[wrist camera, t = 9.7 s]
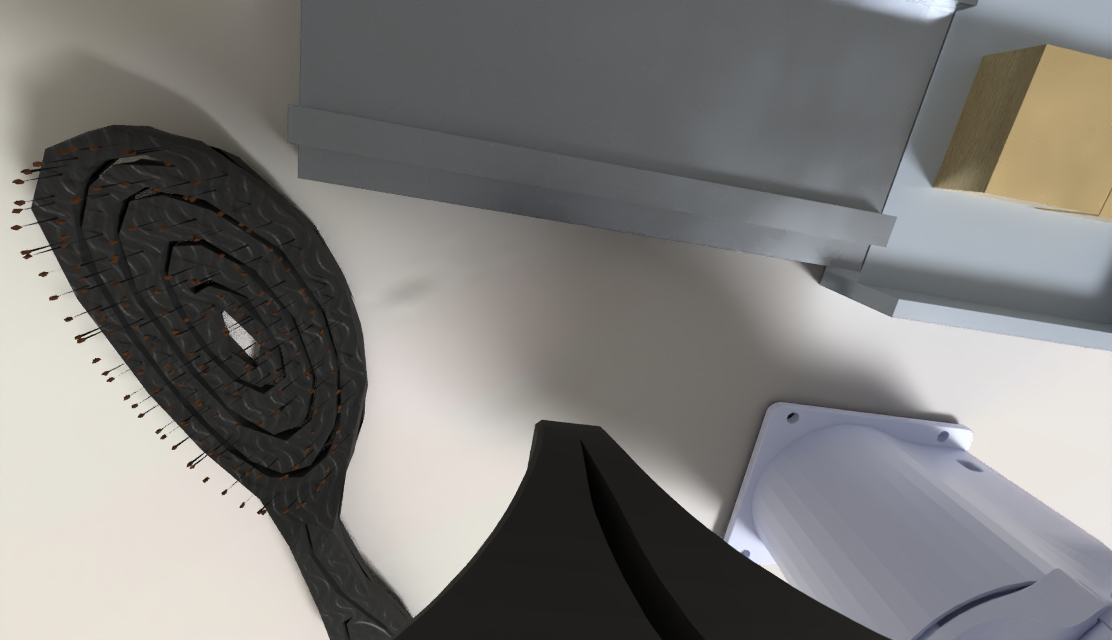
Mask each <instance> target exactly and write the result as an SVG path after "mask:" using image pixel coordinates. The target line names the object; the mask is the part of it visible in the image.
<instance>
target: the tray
mask: <svg viewBox="0 0 1112 640" xmlns="http://www.w3.org/2000/svg"><path fill="white" fill-rule="evenodd" d="M1044 44H1049V45H1053V46H1057V47H1062V48H1066V49H1070V50H1074V51H1078V52H1082V53H1086V54H1090V55H1094V56H1098V57H1102V58H1107V59H1111V60H1112V0H978V3H977V6H974V7H971V8H968V9H964V10H961V11H958V12H954V13H953V16H952V18H951V21H950V24H949V27H948V29H947V32H946V35H945V38H944V40H943V43H942V46H941V49H940V51H939V54H938V57H937V60H936V62H935V65H934V68H933V71H932V73H931V76H930V79H929V82H928V84H927V87H926V90H925V93H924V95H923V98H922V101H921V104H920V106H919V109H918V112H917V115H916V117H915V120H914V123H913V126H912V128H911V131H910V134H909V137H908V139H907V142H906V145H905V148H904V150H903V153H902V156H901V159H900V161H899V164H898V167H897V170H896V172H895V175H894V178H893V181H892V183H891V186H890V189H889V192H888V194H887V197H886V200H885V203H884V205H883V208H882V211H881V214H886V215H891V216H896V217H897V219H896V222H895V225H894V228H893V230H892V233H891V236H890V238H889V241H888V244H887V246H886V247H881V246H875V245H869V247H868V249H867V252H866V255H865V258H864V260H863V263H862V266H861V269H860V271H854V270H848V269H842V268H836V267H830V266H826V268H825V271H824V274H823V277H822V280H821V283H820V285H821V286H824V287H826V288H828V289H830V290H832V291H835V292H837V293H839V294H841V295H844V296H846V297H848V298H850V299H852V300H855V301H857V302H859V303H861V304H864V305H866V306H868V307H870V308H872V309H875V310H877V311H879V312H881V313H884V314H886V315H888V316H890V317H893V318H900V319H906V320H913V321H919V322H926V323H932V324H939V325H945V326H952V327H958V328H964V329H971V330H977V331H984V332H990V333H997V334H1003V335H1010V336H1016V337H1023V338H1029V339H1036V340H1042V341H1048V342H1055V343H1061V344H1068V345H1074V346H1081V347H1087V348H1094V349H1100V350H1107V351H1112V223H1106V222H1101V221H1096V220H1091V219H1086V218H1081V217H1075V216H1070V215H1065V214H1060V213H1055V212H1050V211H1045V210H1039V209H1036V207H1031V206H1025V205H1020V204H1015V203H1010V202H1005V201H1000V200H994V199H989V198H984V197H979V196H974V195H969V194H964V193H958V192H953V191H948V190H943V189H938V188H933V185H934V182H935V180H936V177H937V175H938V172H939V169H940V167H941V164H942V162H943V159H944V156H945V154H946V151H947V149H948V146H949V144H950V141H951V138H952V136H953V133H954V131H955V128H956V125H957V123H958V120H959V118H960V115H961V113H962V110H963V107H964V105H965V102H966V100H967V97H968V94H969V92H970V89H971V87H972V84H973V82H974V79H975V76H976V74H977V71H978V69H979V66H980V63H981V61H982V58H983V56H986V55H991V54H996V53H1002V52H1007V51H1012V50H1018V49H1023V48H1028V47H1034V46H1039V45H1044Z"/></svg>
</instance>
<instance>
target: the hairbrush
mask: <svg viewBox="0 0 1112 640" xmlns="http://www.w3.org/2000/svg"><path fill="white" fill-rule="evenodd" d="M138 155H147V156H150V157H152V158H155V159H158V160H160V161H155V160H147V159H140V160H138V161H135V162H129V163H121V164H114V165H113V166H112V167H111V168H109V167H110V166H111V165H112V164H113V163H114V162H116V161H117V160H118V159H119V158H123V157H131V156H138ZM33 166H34V167H39V166H41V169H35V170H30V169H25V170H23V171H21V173H24V174H26V175H27V174H32V172H36V171H40V174H39V178H36V179H38V182H37V186H36V190H35V194H34V199H33V200H31V201H33V203H32V207H31V209H32V211H33V213H34V215H35V217H36V219H37V221H38V222H37V223H39V225H40V227H41V229H42V231H43V233H44V235H45V237H46V239H47V241H48V243H49V244H50V245H49V246H51V248H52V249H50V250H47V251H51V250H53V252H54V254H55V256H56V258H57V260H58V262H59V264H60V266H61V268H62V270H63V272H64V274H65V276H66V278H67V280H68V282H69V283H70V285H71V287H72V289H73V291H74V293H75V295H76V297H77V299H78V301H79V302H80V303H81V304H82V306H83V307H84V308H85V310H86V311H87V312H88V314H89V315H90V316H91V318H92V319H93V320H94V322H95V323H96V324H97V326H98V327H99V328H97V329H95V330H92V331H90V332H87V333H85V334H82V335H78V336H76V337H75V340H76V339H79V340H77V343H82V342H84V341H85V340H86V339H88V338H90V337H92V336H94V335H96V334H98V333H100V332H98V333H96V334H93V335H91V336H89V337H86V338H81V337H83V336H85V335H87V334H89V333H91V332H93V331H96V330H98V329H100V330H101V332H103V334H104V335H105V336H106V338H107V339H108V340H109V342H110V343H111V344H112V346H113V347H114V348H115V350H116V351H117V352H118V354H119V355H120V356H121V358H122V359H123V360H124V362H125V363H126V364H127V365H128V367H129V368H130V369H131V371H132V372H133V373H134V375H135V376H136V377H137V379H138V380H139V381H140V383H141V384H142V385H143V387H144V388H145V389H146V391H147V392H148V393H149V394H150V395H151V396H150V397H152V398H153V399H154V400H155V401H156V402H157V403H158V404H159V405H160V406H161V407H162V408H163V409H164V410H165V411H166V412H167V414H168V415H169V416H170V417H171V418H172V419H173V420H174V421H175V422H176V423H177V424H178V425H179V426H180V427H181V428H182V429H183V430H184V432H185V433H186V434H187V435H188V436H189V437H190V438H191V439H192V440H193V441H194V442H195V443H196V444H197V445H198V446H199V447H200V449H201V450H202V451H203V452H204V453H206V454H207V455H208V456H209V457H210V458H212V459H213V460H214V461H215V462H216V463H218V464H219V465H220V466H221V467H222V468H223V469H225V470H226V471H227V472H228V473H229V474H231V475H232V476H233V477H234V478H235V479H236V480H237V481H239V482H240V483H241V484H242V485H244V486H245V487H246V488H247V489H248V490H249V491H251V492H252V493H253V494H254V495H255V496H256V497H258V498H259V499H260V500H261V502H262V504H263V505H264V507H263V508H262V509H260V510H259V511H258V512H257V513H258V514H262V515H264V514H265V513H266V511H267V512H268V513H269V515H270V516H271V518H272V520H273V521H274V523H275V524H276V526H277V528H278V529H279V531H280V532H281V534H282V536H283V537H284V539H285V540H286V542H287V544H288V545H289V547H290V549H291V551H292V553H293V555H294V558H295V560H296V562H297V564H298V566H299V568H300V571H301V573H302V575H303V577H304V579H305V581H306V584H307V586H308V588H309V590H310V592H311V594H312V596H313V599H314V601H315V603H316V605H317V607H318V609H319V612H320V615H321V617H322V620H323V623H324V625H325V628H326V630H327V633H328V636H329V638H330V640H389V639H390V638H391V637H393V636H394V635H395V634H396V633H397V632H398V631H399V630H401V629H402V628H403V627H404V626H405V625H406V624H407V623H409V622H410V621H411V620H412V619H413V618H412V617H411V615H410V614H409V613H408V612H407V611H406V610H405V609H404V608H403V607H402V606H401V605H400V604H399V603H398V602H397V601H396V600H395V599H394V598H393V597H392V596H391V595H390V594H389V593H388V592H386V591H385V590H384V589H383V588H382V587H381V586H380V585H379V584H378V583H377V582H376V581H375V580H374V579H373V577H372V576H371V574H370V572H369V570H368V568H367V567H366V565H365V563H364V561H363V559H362V558H361V556H360V554H359V552H358V550H357V549H356V547H355V545H354V543H353V541H352V540H351V538H350V536H349V534H348V532H347V531H346V529H345V527H344V525H343V523H342V522H341V520H340V513H341V506H342V499H343V492H344V484H345V477H346V471H347V468H348V466H349V463H350V461H351V458H352V456H353V453H354V449H355V445H356V441H357V438H358V435H359V432H360V429H361V426H362V423H363V419H364V416H363V419H362V422H361V424H360V421H361V416H362V411H363V407H364V414H365V404H364V402H365V397H366V392H367V387H368V381H367V371H366V360H365V350H364V339H363V333H362V328H361V323H360V320H359V317H358V314H357V311H356V308H355V305H354V303H353V300H352V297H353V296H352V297H351V295H352V293H351V291H350V289H349V286H348V284H347V282H346V279H345V277H344V275H343V272H342V271H341V269H340V267H339V265H338V263H337V262H336V260H335V258H334V257H333V255H332V253H331V252H330V250H329V248H328V247H327V245H326V243H325V242H324V240H323V238H322V236H321V235H320V233H319V231H318V230H317V228H316V226H315V225H313V224H312V223H311V222H310V221H309V220H308V219H307V218H306V217H305V216H303V215H302V214H301V213H300V212H299V211H298V210H297V209H296V208H295V207H293V206H292V205H291V204H290V203H289V202H288V201H287V200H286V199H285V198H284V197H283V196H282V195H281V194H279V193H278V192H277V191H276V190H275V189H273V188H272V187H271V186H270V185H269V184H268V183H267V182H266V181H265V180H263V179H262V178H261V177H260V176H259V175H258V174H257V173H256V172H255V171H253V170H252V169H251V168H250V167H249V166H248V165H247V164H246V163H245V162H243V161H242V160H241V159H240V158H239V157H237V156H235V155H232V154H230V153H228V152H226V151H223V150H221V149H218V148H215V147H211V146H208V145H206V144H205V143H203V142H202V141H198V140H194V139H190V138H186V137H182V136H177V135H173V134H169V133H167V132H164V131H161V130H158V129H155V128H152V127H149V126H127V125H111V126H107V127H104V128H100V129H96V130H92V131H88V132H86V133H83V134H81V135H78V136H76V137H74V138H71V139H69V140H66V141H64V142H61V143H59V144H56V145H54V146H52V147H49V148H47V149H45V153H44V157H43V161H42V162H34V163H33ZM108 168H109V169H108ZM107 169H108V170H107ZM105 170H107V171H106V172H105V173H104V174H103V175H101V174H102V173H103V172H104V171H105ZM100 175H101V176H100ZM99 176H100V177H99ZM31 180H35V179H31ZM26 181H28V180H26ZM12 183H16V184H23V183H24V181H22V180H20V179H17V180H14V181H13V182H12ZM149 188H154V189H153V190H154V191H156V192H159V193H155V194H152V195H149V196H146V197H142V198H139V199H136V200H134V198H135V195H137V194H139V193H141V192H143V191H145V190H147V189H149ZM161 190H162V191H167V192H171V193H176V194H168V193H163V192H160V191H161ZM25 202H26V201H23V200H21V201H16V202H14V203H15V204H16V205H19V206H21V205H23V204H25ZM27 202H28V201H27ZM28 209H30V208H28ZM22 210H25V209H13V211H12V213H20V212H21V211H22ZM37 223H33V224H37ZM29 225H32V224H29ZM25 226H27V225H25ZM20 228H22V226H18V225H15V226H13V227H11V229H13V230H19V229H20ZM200 239H201V240H200ZM181 240H193V241H186V242H183V243H181V244H179V245H176V246H175V244H176V243H177V242H178V241H181ZM49 246H45V247H41V248H37V249H33V250H26V251H21V253H22V255H26V254H27V255H26V256H24V257H23V258H25V259H28V258H30V257H32V255H30V254H29V253H31V252H32V251H36V250H39V249H42V248H46V247H49ZM47 251H44V252H47ZM40 253H43V252H40ZM37 254H39V253H37ZM34 255H35V254H34ZM52 272H53V271H52ZM49 273H50V272H49ZM47 274H48V272H42V273H40V274H38V276H42V277H44V276H46V275H47ZM208 280H212V281H213V282H211V283H209V284H207V285H205V286H204V284H205V282H206V281H208ZM73 291H71V292H73ZM68 293H70V292H68ZM350 293H351V294H350ZM65 294H67V293H65ZM63 295H64V294H63ZM60 296H61V295H60ZM58 297H59V296H57V295H55V296H52V297H50V298H49V301H50V300H56V299H58ZM353 299H354V298H353ZM354 301H355V300H354ZM321 306H322V308H323V309H324V311H325V314H326V316H325V314H324V312H323V310H322V308H321ZM224 310H225V311H226V312H227V313H228V314H229V315H230V316H231V317H232V318H233V319H234V320H235V321H236V322H237V323H238V324H239V325H240V326H242V327H243V328H244V329H245V330H246V331H247V332H248V333H249V334H250V335H251V336H252V337H253V338H254V339H255V340H256V341H257V342H258V343H259V344H260V345H261V346H260V352H259V357H258V358H257V359H258V362H257V363H256V362H254V361H253V360H252V359H251V358H250V357H249V355H248V354H247V353H246V352H245V350H246V349H248V348H249V347H251V346H252V345H254V344H255V343H254V344H252V345H251V346H249V347H247V348H246V349H244V350H243V349H242V348H241V347H240V346H239V345H238V344H237V343H236V342H235V341H234V340H233V339H232V338H231V337H232V336H231V337H230V336H229V333H230V331H229V330H228V328H227V326H226V324H225V322H224V319H223V315H222V313H223V311H224ZM87 312H84V313H87ZM84 313H82V314H84ZM80 315H81V314H80ZM292 315H293V316H292ZM77 316H79V315H77ZM75 317H76V316H75ZM293 317H294V318H293ZM326 317H327V318H326ZM294 319H295V320H294ZM64 320H65V321H66V322H69V321H71V320H73V319H72V317H67V318H66V319H64ZM295 321H296V322H295ZM237 323H236V324H237ZM296 323H297V324H296ZM236 324H234V325H236ZM234 325H232V326H234ZM225 326H226V328H225ZM232 326H231V327H232ZM240 326H238V327H240ZM238 327H237V328H238ZM229 328H230V327H229ZM235 329H236V328H235ZM227 330H228V331H227ZM233 330H234V329H233ZM230 335H231V334H230ZM332 337H333V338H332ZM80 338H81V339H80ZM333 341H334V342H333ZM257 342H256V343H257ZM334 344H335V345H334ZM280 347H281V348H282V352H283V358H284V366H283V361H282V356H281V351H280ZM335 347H336V349H335ZM336 351H337V354H338V358H339V361H340V364H341V368H342V371H343V373H342V387H341V388H340V378H339V368H338V361H337V355H336ZM100 360H101V359H100V358H95V359H94V360H93V362H92V363H96V362H98V361H100ZM255 360H256V359H255ZM125 363H124V364H125ZM311 364H312V365H311ZM122 365H123V364H122ZM120 366H121V365H120ZM312 366H313V367H312ZM118 367H119V366H118ZM118 367H116V368H118ZM284 367H285V371H286V373H285V375H284V377H283V379H282V381H280V382H279V383H278V384H276V385H266V384H267V383H269V382H271V381H272V380H274V379H276V380H275V382H278V381H279V380H280V378H278V377H279V376H281V374H282V372H283V370H284ZM116 368H114V369H116ZM312 368H313V369H314V370H313V369H312ZM114 369H112V370H114ZM130 369H129V370H130ZM112 370H110V371H112ZM110 371H105V372H104V373H102V374H101V375H105V376H106V375H107V374H108V373H109V372H110ZM127 371H128V370H127ZM313 371H314V372H315V375H316V377H317V380H318V381H317V387H315V388H314V383H315V377H314V373H313ZM120 375H121V374H120ZM118 376H119V375H118ZM116 377H117V376H116ZM114 379H115V378H113V377H111V378H109V379H108V380H107V382H112V381H113V380H114ZM315 389H316V395H315V401H314V408H313V415H312V418H311V419H309V420H308V421H307V422H306V423H305V424H304V425H303V426H302V427H298V428H294V429H291V428H293V427H296V426H299V425H302V423H303V421H304V419H305V417H306V415H307V413H308V411H309V408H310V406H311V404H312V402H313V394H314V390H315ZM341 389H342V399H341V405H340V406H339V404H340V403H339V401H340V390H341ZM140 390H141V389H140ZM135 393H136V392H135ZM133 394H134V393H133ZM129 398H130V395H126V396H125V397H124V400H127V399H129ZM148 398H149V397H148ZM148 398H147V399H148ZM145 400H146V399H145ZM143 401H144V400H143ZM140 403H141V402H140ZM137 406H138V404H134V405H132V408H136V407H137ZM157 406H158V405H157ZM155 407H156V406H155ZM155 407H154V408H155ZM152 409H153V408H152ZM340 409H341V424H340V426H339V429H337V430H336V436H335V438H334V441H333V443H332V444H331V445H330V446H329V447H328V448H326V449H325V450H324V451H323V452H321V453H320V454H319V455H318V453H319V452H320V450H321V449H322V447H323V446H324V445H325V444H326V443H327V442H328V441H329V440H330V438H331V435H332V433H333V430H334V426H335V421H336V417H337V413H340ZM150 410H151V409H150ZM150 410H149V411H150ZM147 412H148V411H147ZM147 412H145V413H147ZM145 413H143V414H140V415H139V416H138V418H141V417H143V416H144V415H145ZM171 423H172V422H171ZM168 425H169V424H168ZM359 426H360V427H359ZM165 427H166V426H165ZM177 428H178V427H177ZM297 429H299V430H297ZM162 430H163V428H162V429H158V430H157V431H156V432H155V433H157V434H158V433H160V432H161V431H162ZM174 430H175V429H174ZM292 430H293V431H292ZM171 432H172V431H171ZM166 437H167V436H166V435H165V434H164V435H163V436H162V437H161V438H160V439H165V438H166ZM189 437H188V438H189ZM188 438H186V439H188ZM186 439H185V440H186ZM185 440H183V441H182V442H180V443H179V444H177V445H175V446H173V447H172V450H175V449H176V448H177V446H179V445H180V444H181V443H183V442H184V441H185ZM204 453H203V454H204ZM203 454H201V455H200V456H199V457H201V456H202V455H203ZM207 455H206V456H207ZM317 455H318V456H317ZM206 456H205V457H206ZM199 457H197V458H196V459H195V460H193V461H192V462H189V463H188V464H187V467H189V466H191V465H192V464H193V462H194V461H196V460H197V459H198V458H199ZM205 457H203V458H205ZM203 458H202V459H203ZM202 459H201V460H202ZM201 460H199V461H198V462H197V463H199V462H200V461H201ZM197 463H195V464H194V465H192V466H191V467H190V469H192V468H194V467H195V465H196V464H197ZM208 479H209V478H208V477H206V478H205V479H204V480H203V482H204V483H205V482H206V481H208ZM237 481H236V482H237ZM236 482H235V483H236ZM235 483H234V484H235ZM234 484H233V485H234ZM233 485H232V486H233ZM226 493H227V490H225V491H223V492H222V495H225V494H226ZM250 498H251V497H250ZM250 498H249V499H250ZM249 499H248V500H249ZM248 500H247V501H248ZM244 505H245V503H244V502H243V503H242V504H241V506H240V507H239V508H243V507H244ZM264 508H266V510H263V509H264ZM262 510H263V511H262ZM261 512H262V513H261Z"/></svg>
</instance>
